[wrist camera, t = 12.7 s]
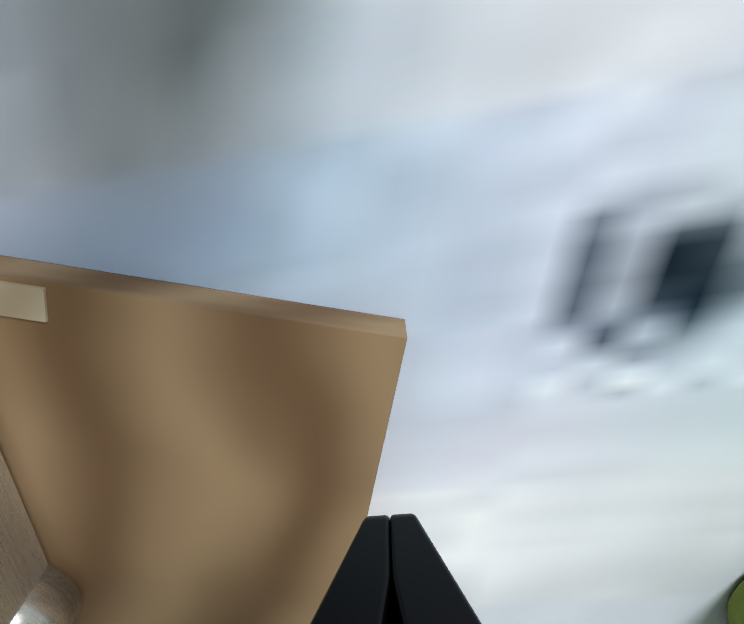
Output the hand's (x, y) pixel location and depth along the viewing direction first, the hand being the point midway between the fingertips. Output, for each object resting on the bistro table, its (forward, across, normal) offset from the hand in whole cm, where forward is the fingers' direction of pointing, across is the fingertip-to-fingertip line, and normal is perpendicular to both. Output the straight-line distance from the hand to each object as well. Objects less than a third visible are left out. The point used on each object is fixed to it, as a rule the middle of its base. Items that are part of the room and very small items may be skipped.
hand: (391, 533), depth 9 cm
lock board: (+11, +13, +9) cm, 19 cm away
